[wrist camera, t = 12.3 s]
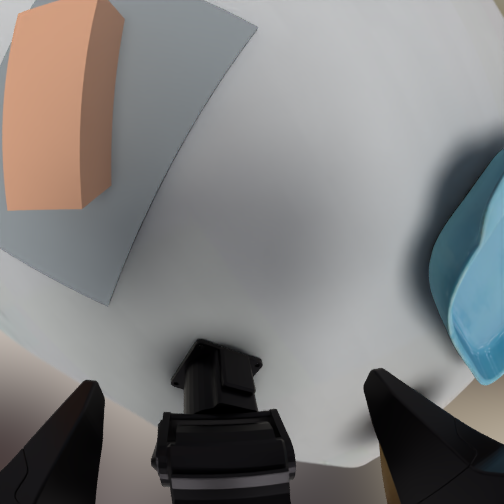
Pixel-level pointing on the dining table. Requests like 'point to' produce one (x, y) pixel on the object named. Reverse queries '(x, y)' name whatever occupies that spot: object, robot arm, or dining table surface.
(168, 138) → the mat
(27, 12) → the block
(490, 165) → the casserole dish
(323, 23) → the dining table surface
